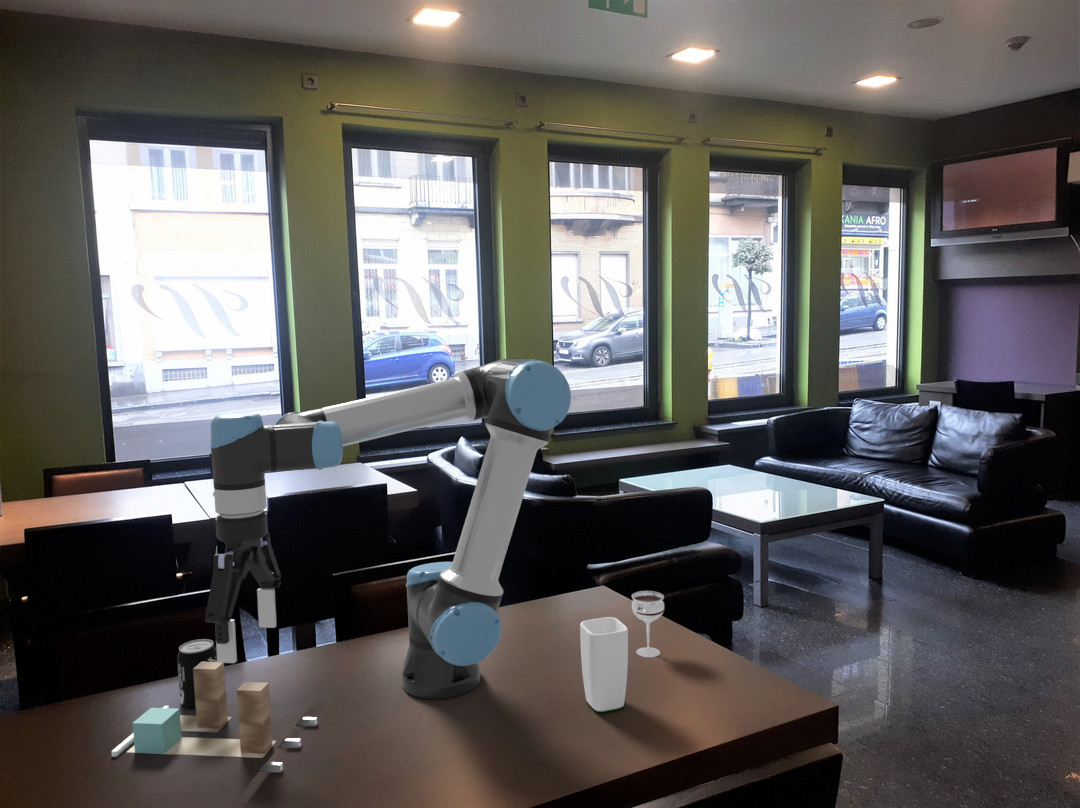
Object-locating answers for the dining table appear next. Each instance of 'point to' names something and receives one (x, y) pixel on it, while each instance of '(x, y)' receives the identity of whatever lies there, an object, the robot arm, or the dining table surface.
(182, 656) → the beverage can
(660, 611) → the wineglass
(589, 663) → the cup
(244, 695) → the strip long
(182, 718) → the strip short
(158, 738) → the cube
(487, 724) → the dining table surface
